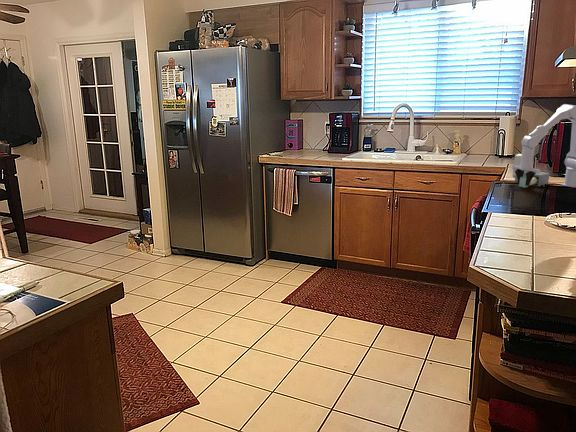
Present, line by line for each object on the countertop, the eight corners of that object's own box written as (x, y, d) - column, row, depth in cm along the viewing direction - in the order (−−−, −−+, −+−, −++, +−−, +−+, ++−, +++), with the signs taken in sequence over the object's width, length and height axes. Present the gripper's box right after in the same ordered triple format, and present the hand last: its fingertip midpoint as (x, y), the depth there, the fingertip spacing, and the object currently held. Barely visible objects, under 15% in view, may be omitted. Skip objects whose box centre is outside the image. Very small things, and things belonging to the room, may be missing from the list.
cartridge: (531, 183, 262) (533, 174, 260) (538, 184, 258) (539, 175, 257) (518, 186, 255) (519, 177, 254) (525, 187, 252) (526, 178, 251)
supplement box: (529, 176, 281) (532, 154, 277) (525, 178, 276) (528, 156, 272) (516, 174, 286) (519, 153, 282) (511, 176, 280) (514, 155, 277)
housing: (524, 179, 273) (525, 169, 271) (547, 184, 261) (549, 173, 260) (514, 181, 268) (516, 170, 266) (538, 186, 257) (540, 175, 255)
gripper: (509, 157, 254) (506, 182, 258) (535, 162, 242) (532, 188, 246) (517, 156, 257) (514, 181, 261) (543, 160, 246) (539, 186, 250)
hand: (523, 184), depth 254 cm, fingers closed on cartridge, 4 cm apart
